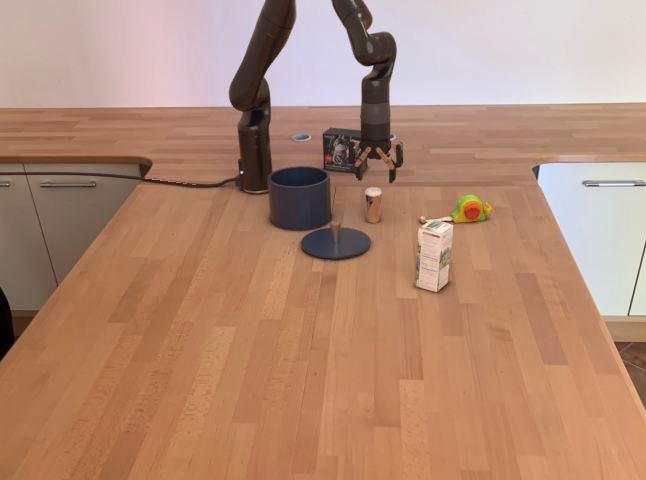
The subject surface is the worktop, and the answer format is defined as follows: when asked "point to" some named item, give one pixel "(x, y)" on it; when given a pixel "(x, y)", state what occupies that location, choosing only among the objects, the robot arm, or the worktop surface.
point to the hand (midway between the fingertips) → (375, 181)
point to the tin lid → (335, 242)
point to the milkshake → (373, 203)
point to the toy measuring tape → (466, 211)
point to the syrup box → (433, 255)
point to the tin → (299, 198)
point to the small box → (340, 149)
